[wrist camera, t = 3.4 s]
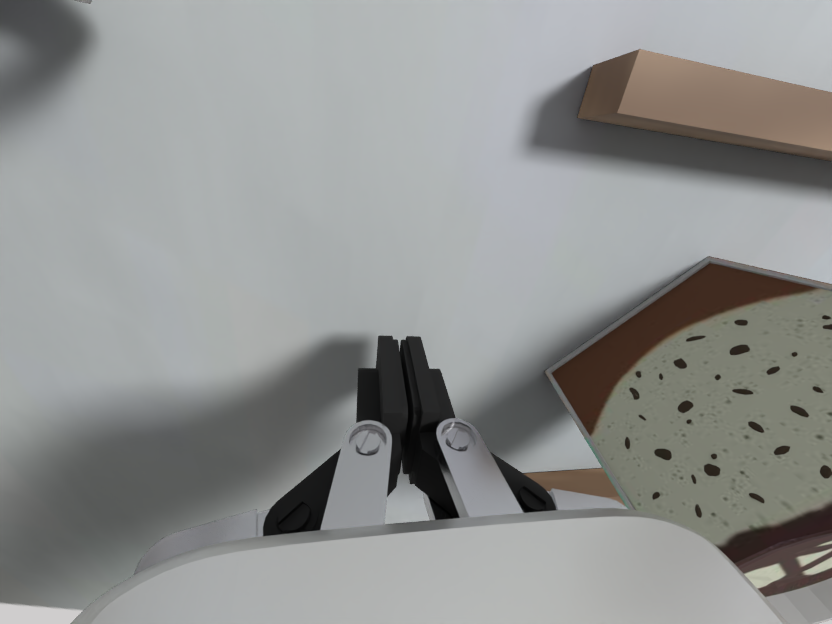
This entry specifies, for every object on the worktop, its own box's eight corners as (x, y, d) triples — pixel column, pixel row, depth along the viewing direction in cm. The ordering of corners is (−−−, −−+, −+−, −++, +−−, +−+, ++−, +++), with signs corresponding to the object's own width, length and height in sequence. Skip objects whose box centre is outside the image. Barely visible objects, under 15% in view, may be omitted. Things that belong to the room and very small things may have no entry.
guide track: (772, 468, 26) (802, 491, 24) (463, 491, 21) (472, 523, 19) (1072, 164, 15) (1163, 167, 14) (593, 65, 10) (639, 49, 9)
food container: (568, 436, 20) (730, 666, 11) (521, 387, 17) (687, 641, 8) (759, 316, 17) (1169, 493, 8) (739, 234, 14) (1314, 372, 6)
